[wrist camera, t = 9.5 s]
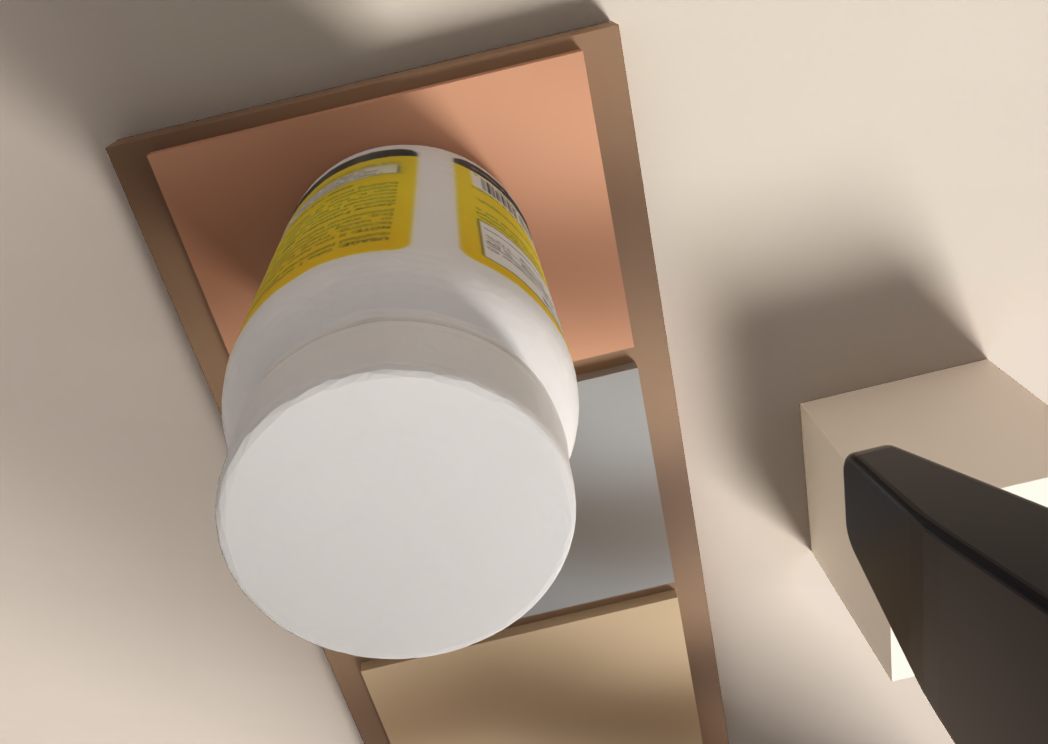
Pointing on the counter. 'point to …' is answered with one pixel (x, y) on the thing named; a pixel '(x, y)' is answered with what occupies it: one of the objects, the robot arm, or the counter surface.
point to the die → (930, 432)
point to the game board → (594, 343)
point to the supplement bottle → (399, 414)
